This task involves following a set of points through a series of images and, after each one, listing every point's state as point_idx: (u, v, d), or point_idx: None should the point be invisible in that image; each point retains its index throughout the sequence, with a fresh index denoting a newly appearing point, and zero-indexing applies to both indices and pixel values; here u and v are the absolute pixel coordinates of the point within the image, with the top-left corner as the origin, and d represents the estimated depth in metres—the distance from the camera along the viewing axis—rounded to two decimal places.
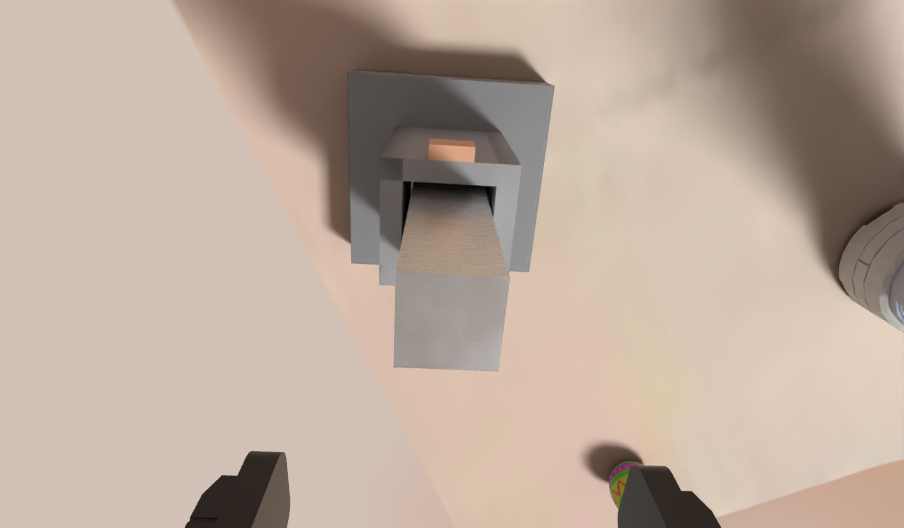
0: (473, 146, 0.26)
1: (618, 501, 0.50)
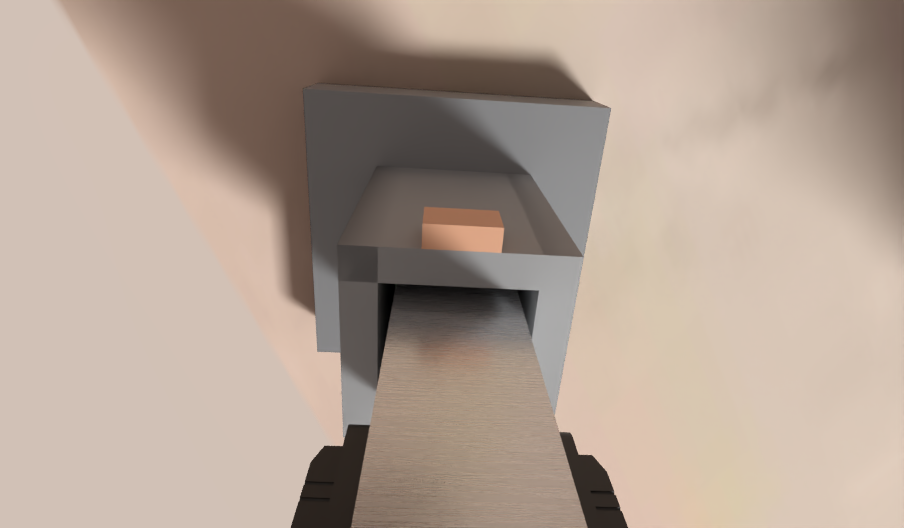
0: (500, 225, 0.15)
1: None
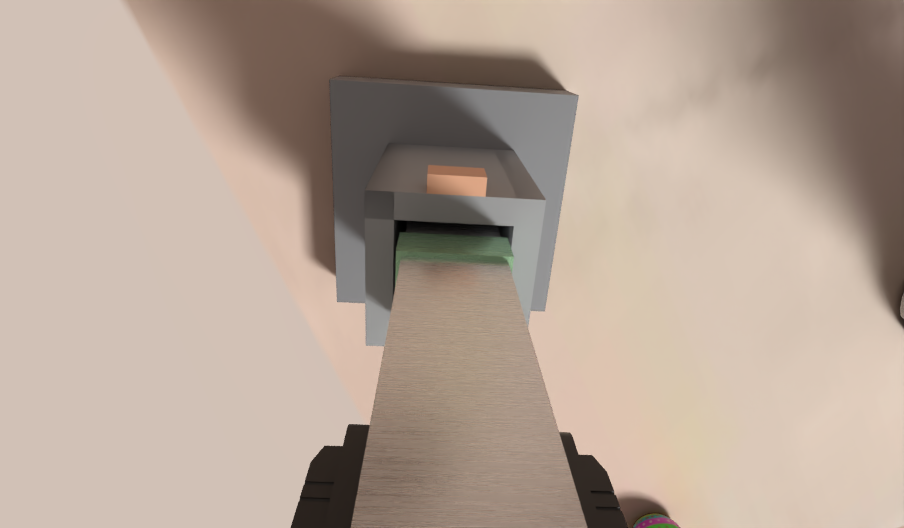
0: (484, 176, 0.20)
1: None
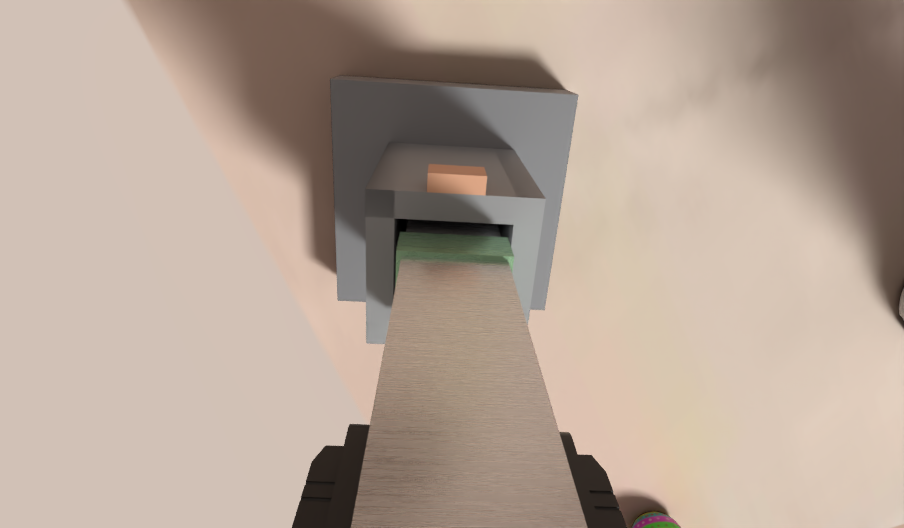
0: (484, 175, 0.21)
1: None
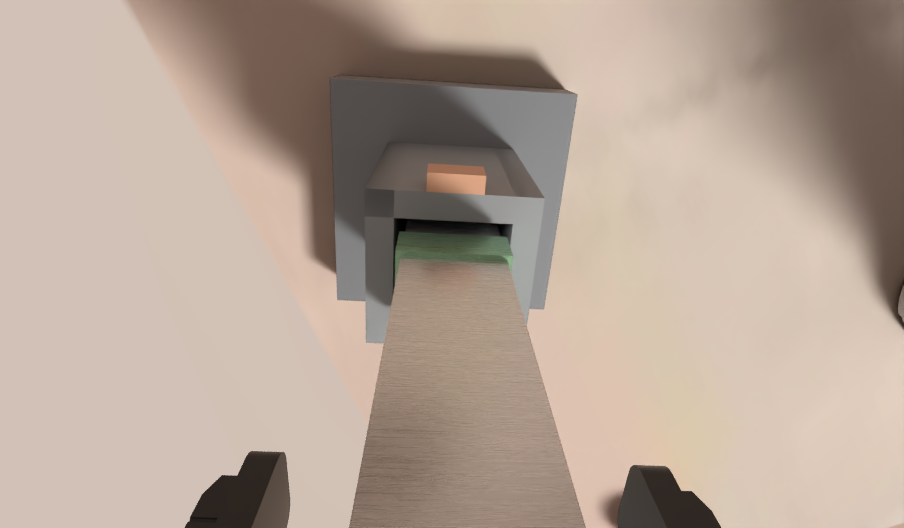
0: (483, 174, 0.21)
1: None
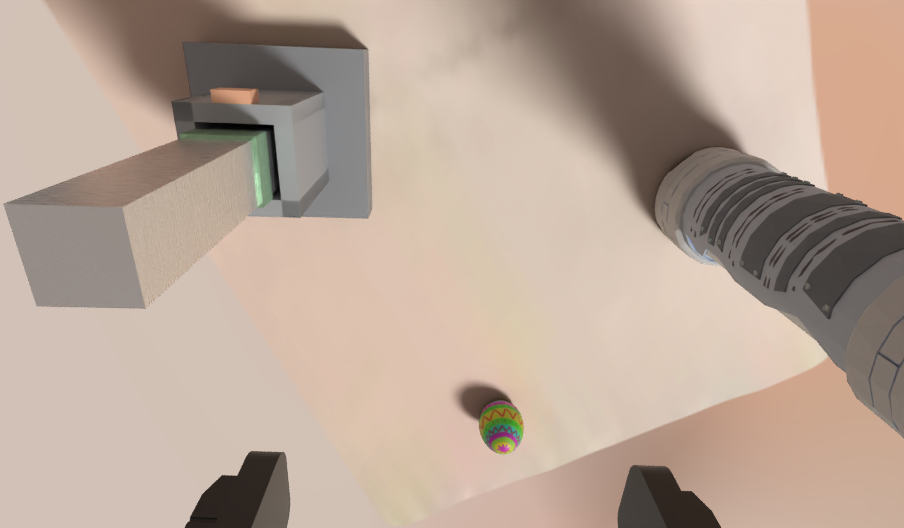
0: (248, 90, 0.32)
1: (482, 434, 0.55)
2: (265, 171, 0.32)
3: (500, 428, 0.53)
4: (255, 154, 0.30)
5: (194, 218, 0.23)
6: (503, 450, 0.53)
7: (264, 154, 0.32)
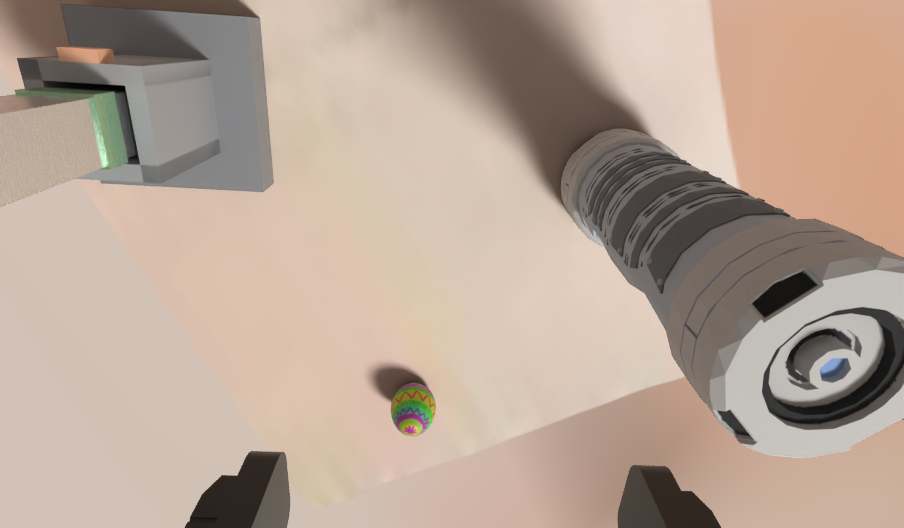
0: (96, 49, 0.31)
1: (392, 415, 0.54)
2: (113, 132, 0.31)
3: (408, 410, 0.53)
4: (95, 113, 0.30)
5: None
6: (410, 432, 0.53)
7: (111, 115, 0.31)
